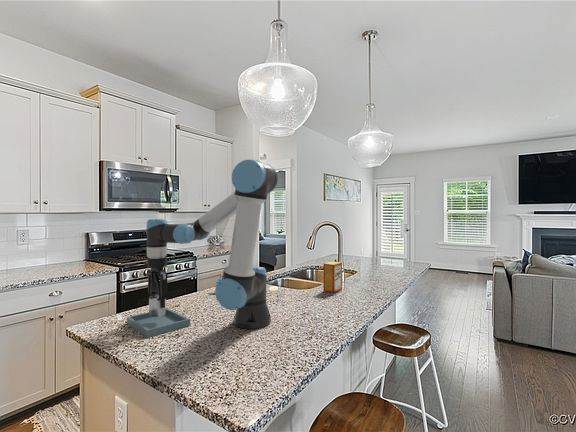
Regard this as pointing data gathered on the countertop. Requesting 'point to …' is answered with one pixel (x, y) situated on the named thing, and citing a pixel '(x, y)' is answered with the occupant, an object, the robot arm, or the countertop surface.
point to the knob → (154, 306)
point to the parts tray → (157, 323)
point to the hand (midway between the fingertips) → (157, 313)
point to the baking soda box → (332, 276)
